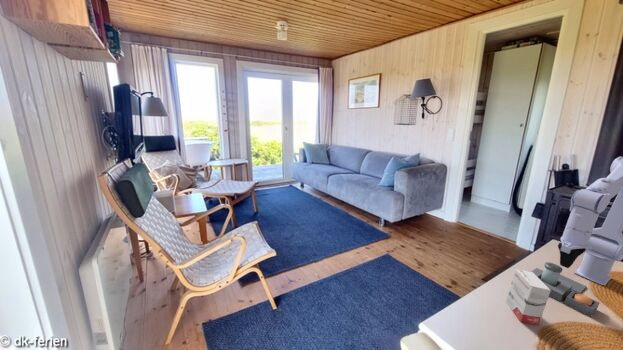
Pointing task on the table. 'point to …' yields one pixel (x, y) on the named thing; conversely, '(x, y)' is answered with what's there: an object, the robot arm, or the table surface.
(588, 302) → the release button
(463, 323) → the table surface
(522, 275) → the ink box
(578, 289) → the slate mat
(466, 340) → the table surface
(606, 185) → the robot arm
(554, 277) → the cylinder
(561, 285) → the socket block
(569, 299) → the button housing
